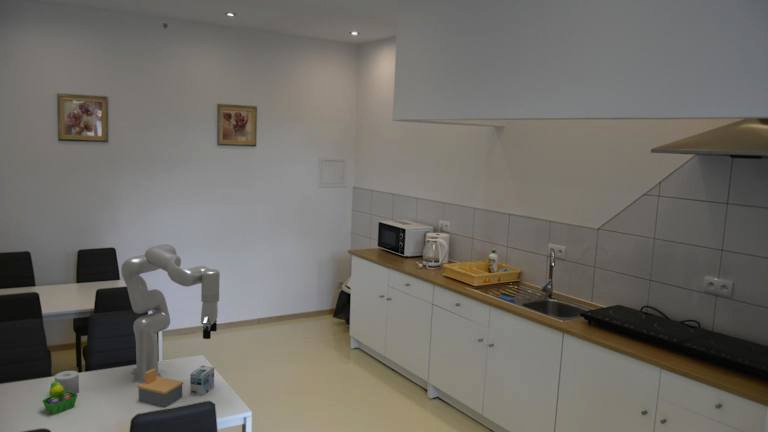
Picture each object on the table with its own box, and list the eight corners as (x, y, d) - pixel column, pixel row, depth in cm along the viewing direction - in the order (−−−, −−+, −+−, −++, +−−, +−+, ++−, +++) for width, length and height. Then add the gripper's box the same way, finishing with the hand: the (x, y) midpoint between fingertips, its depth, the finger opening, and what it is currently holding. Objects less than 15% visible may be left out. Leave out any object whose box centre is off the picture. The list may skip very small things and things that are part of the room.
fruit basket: (51, 416, 237) (50, 390, 236) (40, 410, 242) (39, 385, 240) (78, 406, 247) (78, 381, 245) (67, 400, 251) (66, 376, 250)
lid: (137, 389, 251) (137, 374, 250) (156, 379, 262) (156, 365, 261) (165, 396, 246) (164, 381, 245) (183, 385, 257) (183, 371, 256)
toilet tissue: (75, 384, 268) (74, 366, 267) (80, 394, 257) (79, 376, 256) (53, 388, 263) (52, 370, 261) (57, 399, 252) (56, 380, 251)
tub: (139, 403, 252) (138, 387, 251) (156, 393, 262) (156, 378, 261) (165, 409, 247) (164, 393, 246) (182, 399, 257) (182, 384, 256)
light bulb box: (203, 398, 259) (203, 375, 258) (189, 396, 261) (189, 373, 259) (214, 388, 270) (214, 366, 268) (201, 386, 271) (201, 364, 269)
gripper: (207, 291, 262) (206, 328, 264) (195, 302, 245) (195, 341, 247) (223, 292, 262) (223, 328, 264) (213, 303, 245) (213, 342, 247)
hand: (209, 334), depth 256 cm, fingers open, 9 cm apart
